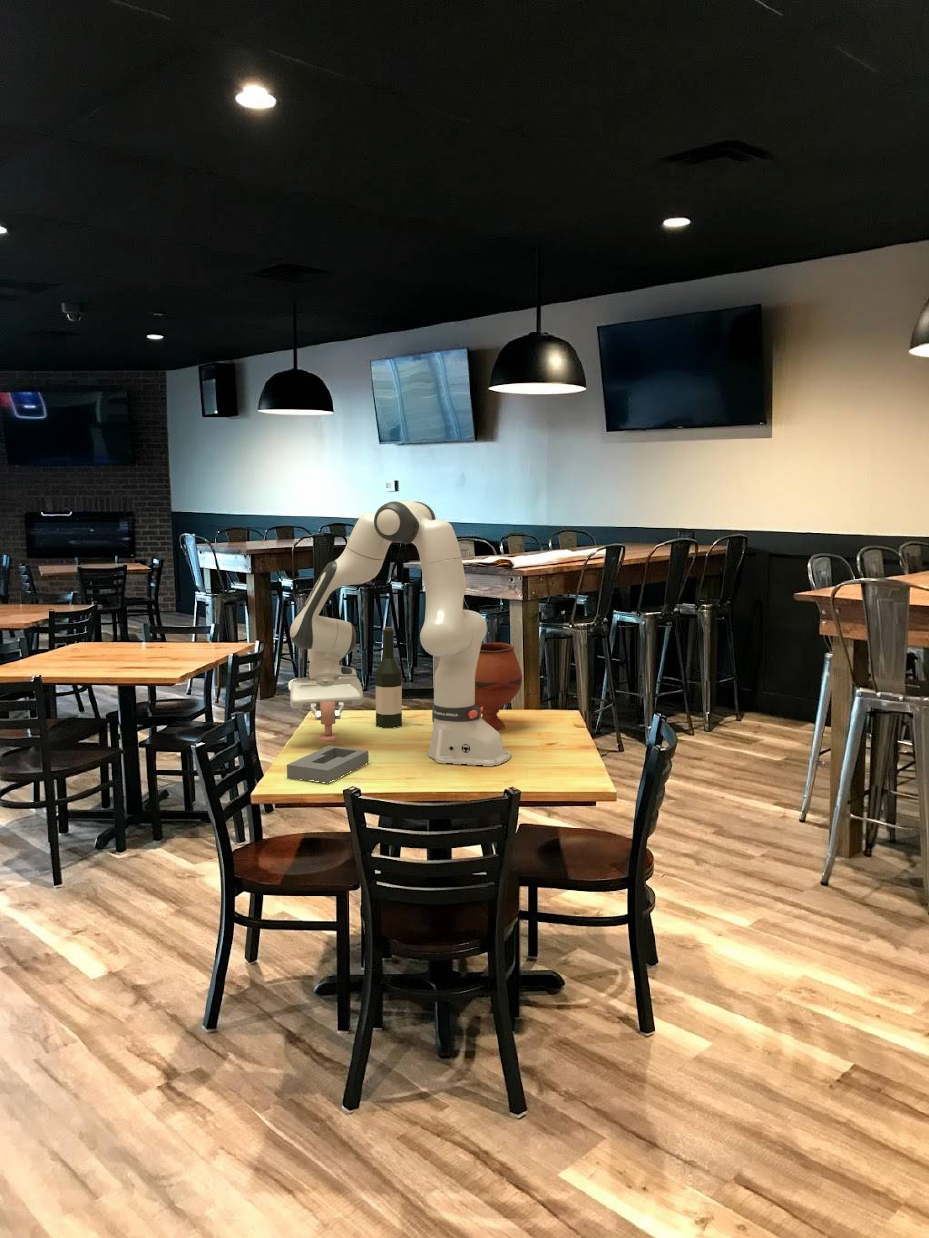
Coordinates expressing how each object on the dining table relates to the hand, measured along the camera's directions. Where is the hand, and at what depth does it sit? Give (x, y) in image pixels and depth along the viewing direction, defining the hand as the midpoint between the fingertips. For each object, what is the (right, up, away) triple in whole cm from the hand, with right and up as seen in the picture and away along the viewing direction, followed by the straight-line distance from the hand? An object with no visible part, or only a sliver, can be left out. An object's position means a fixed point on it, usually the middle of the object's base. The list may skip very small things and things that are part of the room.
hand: (328, 718), depth 276 cm
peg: (0, -6, +1) cm, 6 cm away
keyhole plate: (+3, -12, -18) cm, 21 cm away
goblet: (+45, -6, +28) cm, 53 cm away
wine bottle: (+14, -5, +30) cm, 34 cm away
